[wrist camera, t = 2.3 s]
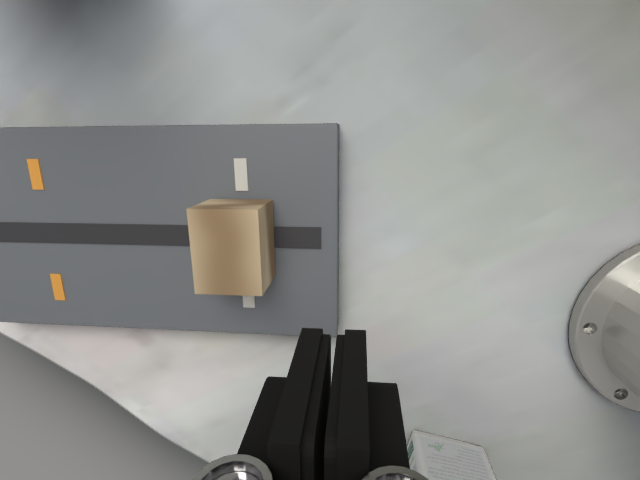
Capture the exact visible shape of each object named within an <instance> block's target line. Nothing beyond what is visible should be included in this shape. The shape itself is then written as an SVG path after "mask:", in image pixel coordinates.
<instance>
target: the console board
mask: <svg viewBox="0 0 640 480" xmlns="http://www.w3.org/2000/svg"><path fill="white" fill-rule="evenodd" d="M209 199H273V221H274V245H275V270H276V275H275V277H274V279H273V280H272V282H271V283H270V285H269V287H268V288H267V290H266V291H265V293H264V294H263V296H240V295H212V294H195V290H194V280H193V270H192V260H191V250H190V240H189V230H188V220H187V210H186V209H187V208H190V207H192V206H194V205H197V204H199V203H202V202H204V201H207V200H209ZM338 285H339V124H338V123H326V124H246V125H166V126H86V127H6V128H0V322H16V323H38V324H60V325H82V326H104V327H125V328H147V329H169V330H191V331H213V332H235V333H257V334H278V335H300V333H301V329H302V328H320V329H323V334H330V335H331V337H337V330H338Z"/></svg>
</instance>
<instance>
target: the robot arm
mask: <svg viewBox="0 0 640 480" xmlns="http://www.w3.org/2000/svg"><path fill="white" fill-rule="evenodd" d="M569 344H570V348H571V353H572V357H573V359H574V361H575V363H576V365H577V367H578V369H579V371H580V372H581V373H582V374H583V376H584V377H585V378H586V379H587V381H588V382H589V383H590V384H591V385H592V386H593V387H594V388H595V389H596V390H597V391H598V392H599V393H600V394H601V395H603V396H604V397H606V398H607V399H609V400H610V401H612V402H613V403H615V404H618V405H620V406H622V407H625V408H627V409H630V410H633V411H637V412H640V244H639V245H637V246H635V247H633V248H631V249H629V250H627V251H625V252H623V253H621V254H620V255H618V256H617V257H615V258H614V259H613V260H611V261H610V262H608V263H607V264H606V265H604V266H603V267H602V268H601V269H600V270H599V271H598V272H597V273H596V274H595V275H594V276H593V277H592V278H591V279H590V281H589V282H588V284H587V285H586V286H585V288H584V289H583V291H582V292H581V293H580V295H579V298H578V300H577V302H576V304H575V306H574V308H573V311H572V316H571V320H570V324H569ZM193 480H428V479H427V478H426V477H424V476H423V475H421V474H420V473H418V472H416V471H414V470H411V469H410V465H409V459H408V452H407V445H406V439H405V432H404V426H403V419H402V413H401V406H400V399H399V393H398V387H397V384H396V383H378V382H367V352H366V330H345V335H337V339H336V347H335V356H334V365H333V373H332V382H331V335H330V334H323V329H320V328H302V329H301V333H300V336H299V339H298V343H297V346H296V349H295V352H294V356H293V359H292V362H291V366H290V369H289V372H288V376H287V378H286V377H267V379H266V381H265V383H264V386H263V388H262V391H261V394H260V396H259V399H258V401H257V404H256V407H255V409H254V412H253V414H252V417H251V420H250V422H249V425H248V427H247V430H246V432H245V435H244V438H243V440H242V443H241V445H240V448H239V451H238V453H237V454H234V455H229V456H224V457H221V458H219V459H217V460H214V461H212V462H211V463H209V464H208V465H207V466H205V467H204V468H202V469H201V471H200V472H199V473H198V474H197V475H196V476H195V477H194V478H193Z"/></svg>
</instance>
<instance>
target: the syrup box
mask: <svg viewBox="0 0 640 480" xmlns="http://www.w3.org/2000/svg"><path fill="white" fill-rule="evenodd" d="M407 452H408V459H409V465H410V469H411V470H414V471H416V472H418V473H420V474H421V475H423V476H424V477H426V478H427V479H428V480H497V479H496V477H495V474H494V472H493V470H492V467H491V465H490V462H489V460H488V458H487V455H486V453H485V451H484V449H483V448H482V447H480V446H476V445H473V444H470V443H466V442H462V441H459V440H454V439H450V438H446V437H442V436H438V435H434V434H429V433H425V432H421V431H416V430H413V431H412V434H411V437H410V440H409V443H408V445H407Z"/></svg>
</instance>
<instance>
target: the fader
mask: <svg viewBox="0 0 640 480" xmlns="http://www.w3.org/2000/svg"><path fill="white" fill-rule="evenodd" d="M186 210H187V220H188V230H189V240H190V250H191V260H192V270H193V280H194V290H195V294H212V295H240V296H263V294H264V293H265V291H266V290H267V288H268V287H269V285H270V283H271V282H272V280H273V279H274V277H275V275H276V270H275V245H274V221H273V199H209V200H207V201H204V202H202V203H199V204H197V205H194V206H192V207H190V208H187V209H186Z"/></svg>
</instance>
